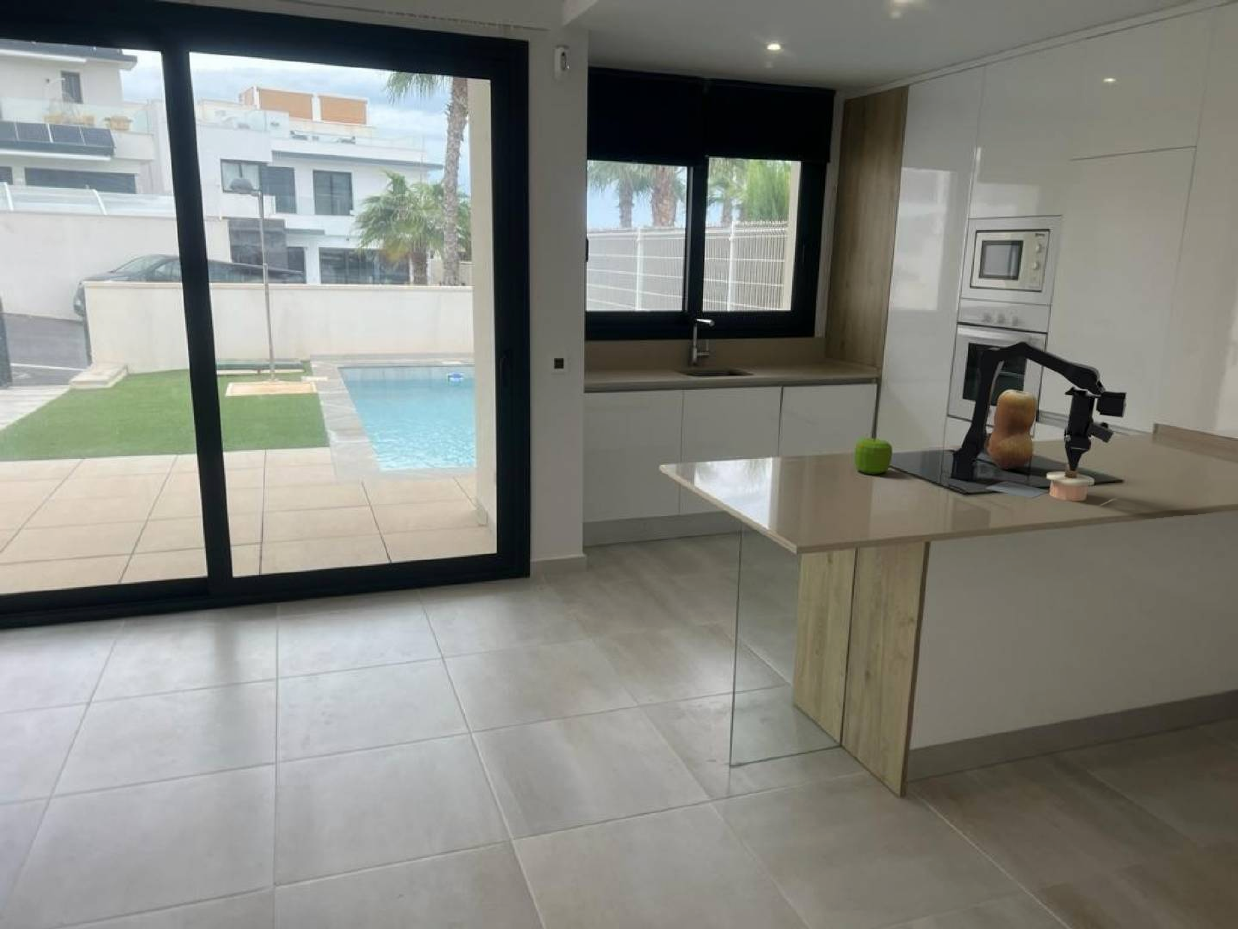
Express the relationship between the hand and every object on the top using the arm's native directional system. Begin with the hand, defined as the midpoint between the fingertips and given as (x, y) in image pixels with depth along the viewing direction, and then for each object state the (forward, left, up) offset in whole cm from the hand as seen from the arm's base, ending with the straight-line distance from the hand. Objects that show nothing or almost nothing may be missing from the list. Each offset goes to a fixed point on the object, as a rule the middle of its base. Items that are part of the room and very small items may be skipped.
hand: (1072, 467), depth 249 cm
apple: (-50, -21, -9) cm, 55 cm away
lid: (0, 0, -4) cm, 4 cm away
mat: (-12, -5, -9) cm, 16 cm away
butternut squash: (-26, +19, -9) cm, 33 cm away
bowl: (0, 0, -9) cm, 9 cm away
